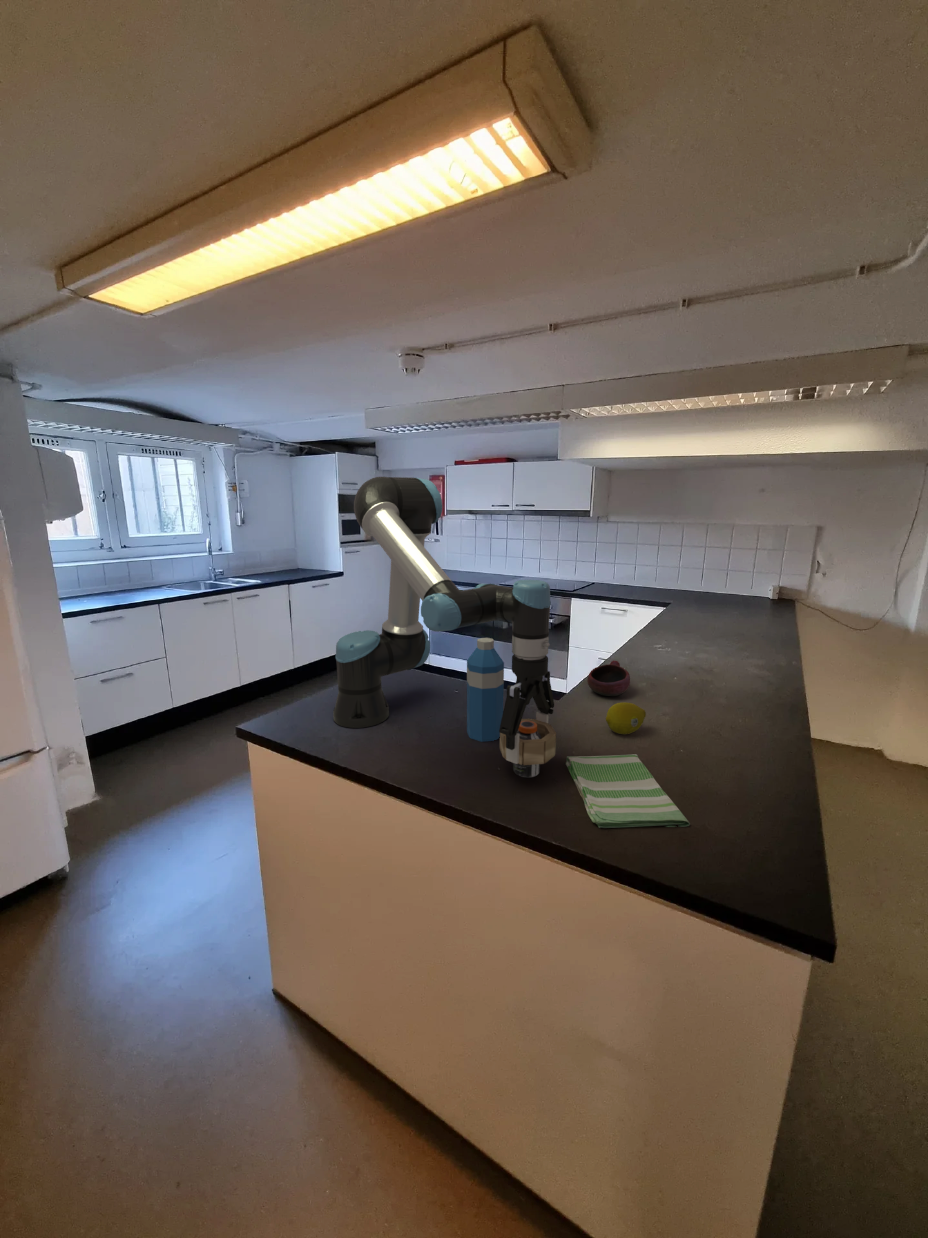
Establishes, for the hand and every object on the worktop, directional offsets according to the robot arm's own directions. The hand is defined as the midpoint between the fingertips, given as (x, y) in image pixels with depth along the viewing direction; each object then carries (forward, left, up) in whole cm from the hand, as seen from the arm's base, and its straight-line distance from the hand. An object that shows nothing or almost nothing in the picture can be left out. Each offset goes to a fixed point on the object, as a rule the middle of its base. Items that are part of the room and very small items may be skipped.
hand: (527, 750), depth 106 cm
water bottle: (-18, +9, -5) cm, 21 cm away
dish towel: (+19, +5, -6) cm, 20 cm away
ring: (0, 0, 0) cm, 0 cm away
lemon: (+10, +32, -5) cm, 34 cm away
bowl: (-5, +56, -5) cm, 56 cm away
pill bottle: (0, 0, -5) cm, 5 cm away
